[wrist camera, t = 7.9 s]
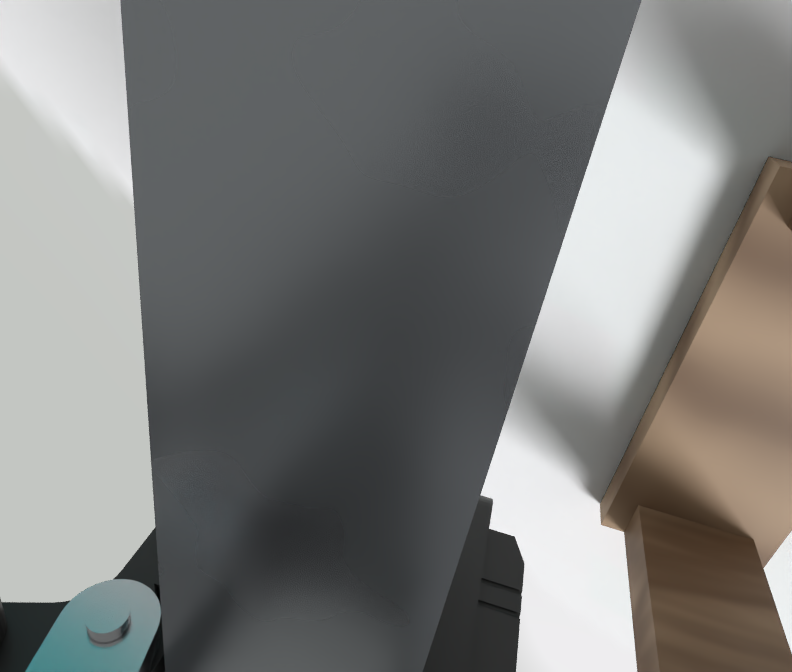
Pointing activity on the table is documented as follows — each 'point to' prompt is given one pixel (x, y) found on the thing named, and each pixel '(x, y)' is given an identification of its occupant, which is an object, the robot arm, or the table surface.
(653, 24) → the table surface
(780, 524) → the walnut stand
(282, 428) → the steel bar
